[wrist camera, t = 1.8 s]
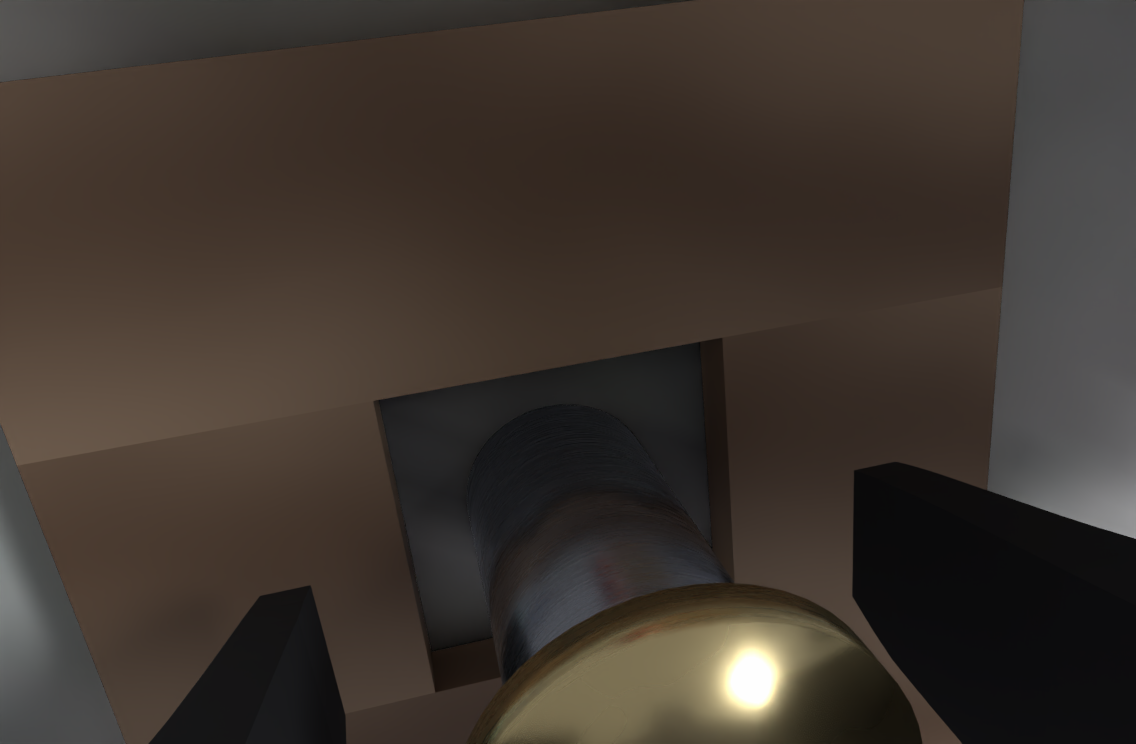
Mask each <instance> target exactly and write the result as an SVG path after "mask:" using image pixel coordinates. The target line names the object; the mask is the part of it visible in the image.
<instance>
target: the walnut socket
mask: <svg viewBox="0 0 1136 744" xmlns="http://www.w3.org/2000/svg"><path fill="white" fill-rule="evenodd" d="M1023 6H1024V0H694V1H686V2H677V3H669V4H660V5H652V6H643V7H635V8H626V9H618V10H609V11H601V12H592V13H584V14H575V15H567V16H558V17H550V18H542V19H533V20H525V21H516V22H508V23H499V24H491V25H482V26H474V27H465V28H457V29H448V30H440V31H431V32H423V33H414V34H406V35H397V36H389V37H380V38H372V39H363V40H355V41H346V42H338V43H329V44H321V45H312V46H304V47H296V48H287V49H279V50H270V51H262V52H253V53H245V54H236V55H228V56H219V57H211V58H202V59H194V60H185V61H177V62H168V63H160V64H151V65H143V66H134V67H126V68H117V69H109V70H100V71H92V72H83V73H75V74H67V75H58V76H50V77H41V78H33V79H24V80H16V81H7V82H0V424H1V426H2V429H3V431H4V434H5V437H6V439H7V442H8V444H9V447H10V449H11V452H12V454H13V457H14V460H15V462H16V465H17V467H18V470H19V472H20V475H21V477H22V480H23V482H24V485H25V488H26V490H27V493H28V495H29V498H30V500H31V503H32V505H33V508H34V511H35V513H36V516H37V518H38V521H39V523H40V526H41V528H42V531H43V534H44V536H45V539H46V541H47V544H48V546H49V549H50V551H51V554H52V556H53V559H54V562H55V564H56V567H57V569H58V572H59V574H60V577H61V579H62V582H63V585H64V587H65V590H66V592H67V595H68V597H69V600H70V602H71V605H72V607H73V610H74V613H75V615H76V618H77V620H78V623H79V625H80V628H81V630H82V633H83V636H84V638H85V641H86V643H87V646H88V648H89V651H90V653H91V656H92V659H93V661H94V664H95V666H96V669H97V671H98V674H99V676H100V679H101V681H102V684H103V687H104V689H105V692H106V694H107V697H108V699H109V702H110V704H111V707H112V710H113V712H114V715H115V717H116V720H117V722H118V725H119V727H120V730H121V733H122V735H123V738H124V740H125V743H126V744H149V742H150V741H151V740H152V739H153V737H154V736H155V735H156V734H157V733H158V731H159V730H160V729H161V728H162V727H163V725H164V724H165V723H166V722H167V721H168V719H169V718H170V717H171V715H172V714H173V713H174V711H175V710H176V709H177V707H178V706H179V705H180V703H181V702H182V701H183V700H184V698H185V697H186V696H187V694H188V693H189V692H190V690H191V689H192V688H193V686H194V685H195V684H196V682H197V681H198V680H199V678H200V677H201V676H202V674H203V673H204V672H205V670H206V669H207V668H208V666H209V665H210V663H211V662H212V661H213V659H214V658H215V656H216V655H217V654H218V652H219V651H220V650H221V648H222V647H223V645H224V644H225V643H226V641H227V640H228V638H229V637H230V636H231V634H232V633H233V631H234V630H235V629H236V627H237V626H238V624H239V623H240V622H241V620H242V619H243V618H244V616H245V615H246V614H247V612H248V611H249V610H250V608H251V607H252V606H253V604H254V603H255V602H256V600H257V599H258V598H259V596H262V595H266V594H271V593H276V592H281V591H285V590H290V589H295V588H300V587H304V586H309V585H311V588H312V592H313V596H314V599H315V603H316V607H317V611H318V614H319V618H320V622H321V626H322V629H323V633H324V637H325V641H326V644H327V648H328V652H329V656H330V659H331V663H332V667H333V671H334V674H335V678H336V682H337V685H338V689H339V693H340V697H341V700H342V704H343V708H344V712H345V715H346V744H466V743H467V740H468V738H469V736H470V734H471V732H472V731H473V729H474V727H475V725H476V723H477V721H478V720H479V718H480V716H481V714H482V713H483V711H484V710H485V708H486V707H487V706H488V704H489V703H490V702H491V700H492V699H493V697H494V696H495V695H496V693H497V692H498V691H499V689H500V688H501V687H502V681H501V676H500V671H499V666H498V661H497V656H496V651H495V646H494V641H493V638H490V639H486V640H482V641H477V642H473V643H468V644H464V645H460V646H455V647H451V648H446V649H442V650H438V651H433V652H432V651H431V646H430V641H429V637H428V632H427V627H426V623H425V618H424V613H423V608H422V604H421V599H420V594H419V589H418V585H417V580H416V575H415V571H414V566H413V561H412V556H411V552H410V547H409V542H408V537H407V533H406V528H405V523H404V519H403V514H402V509H401V504H400V500H399V495H398V490H397V485H396V481H395V476H394V471H393V466H392V462H391V457H390V452H389V448H388V443H387V438H386V433H385V429H384V424H383V419H382V414H381V410H380V405H379V400H381V399H387V398H392V397H398V396H404V395H409V394H415V393H420V392H426V391H431V390H437V389H442V388H448V387H453V386H459V385H464V384H470V383H475V382H481V381H486V380H492V379H497V378H503V377H508V376H514V375H519V374H525V373H530V372H536V371H541V370H547V369H552V368H558V367H563V366H569V365H574V364H580V363H585V362H591V361H596V360H602V359H607V358H613V357H618V356H624V355H629V354H635V353H640V352H646V351H652V350H657V349H663V348H668V347H674V346H679V345H685V344H690V343H696V342H700V350H701V367H702V384H703V400H704V417H705V434H706V450H707V467H708V483H709V500H710V517H711V533H712V550H713V552H714V553H715V555H716V556H717V558H718V559H719V561H720V562H721V564H722V565H723V566H724V568H725V569H726V571H727V572H728V574H729V575H730V577H731V578H732V580H733V581H734V583H739V584H753V585H760V586H764V587H769V588H774V589H779V590H783V591H786V592H789V593H792V594H795V595H797V596H800V597H803V598H806V599H808V600H810V601H812V602H814V603H816V604H817V605H819V606H821V607H823V608H825V609H827V610H828V611H830V612H831V613H833V614H834V615H835V616H836V617H838V618H839V619H840V620H842V621H843V622H844V623H845V624H847V625H848V626H849V627H850V628H851V629H852V630H853V631H854V633H855V634H856V635H857V636H858V637H859V638H860V639H861V640H862V641H863V642H864V644H865V645H866V646H867V647H868V648H869V650H870V651H871V652H872V653H873V654H874V656H875V657H876V658H877V659H878V660H879V662H880V663H881V664H882V665H883V666H884V668H885V669H886V670H887V671H888V672H889V674H890V675H891V676H892V677H893V678H894V680H895V681H896V682H897V683H898V684H899V686H900V688H901V689H902V691H903V692H904V694H905V696H906V697H907V699H908V700H909V702H910V704H911V706H912V709H913V711H914V714H915V716H916V719H917V721H918V724H919V728H920V733H921V738H922V743H923V744H962V743H961V742H960V740H959V739H958V738H957V737H956V736H955V735H954V733H953V732H952V731H951V730H950V729H949V727H948V726H947V725H946V724H945V723H944V722H943V720H942V719H941V718H940V717H939V716H938V714H937V713H936V712H935V711H934V710H933V709H932V707H931V706H930V705H929V704H928V703H927V701H926V700H925V699H924V698H923V697H922V695H921V694H920V693H919V692H918V691H917V689H916V688H915V687H914V686H913V684H912V683H911V682H910V681H909V680H908V678H907V677H906V676H905V675H904V674H903V672H902V671H901V670H900V669H899V667H898V666H897V665H896V664H895V662H894V661H893V660H892V659H891V657H890V656H889V654H888V653H887V651H886V650H885V648H884V647H883V645H882V644H881V642H880V641H879V639H878V637H877V636H876V634H875V633H874V631H873V630H872V628H871V626H870V625H869V623H868V622H867V620H866V618H865V617H864V615H863V613H862V612H861V610H860V608H859V607H858V605H857V603H856V602H855V600H854V598H853V597H852V575H853V501H854V470H858V469H862V468H867V467H872V466H877V465H881V464H886V463H891V462H900V463H904V464H908V465H912V466H915V467H919V468H922V469H925V470H929V471H932V472H935V473H938V474H941V475H944V476H947V477H950V478H953V479H956V480H959V481H962V482H965V483H967V484H970V485H973V486H976V487H979V488H982V489H985V490H987V485H988V471H989V458H990V445H991V432H992V418H993V405H994V392H995V378H996V365H997V352H998V339H999V325H1000V312H1001V299H1002V285H1003V272H1004V259H1005V246H1006V232H1007V219H1008V206H1009V192H1010V179H1011V166H1012V153H1013V139H1014V126H1015V113H1016V99H1017V86H1018V73H1019V60H1020V46H1021V33H1022V20H1023Z"/></svg>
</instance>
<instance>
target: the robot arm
mask: <svg viewBox="0 0 1136 744" xmlns="http://www.w3.org/2000/svg"><path fill="white" fill-rule="evenodd" d="M852 597H853V598H854V600H855V602H856V603H857V605H858V607H859V608H860V610H861V612H862V613H863V615H864V617H865V618H866V620H867V622H868V623H869V625H870V626H871V628H872V630H873V631H874V633H875V634H876V636H877V637H878V639H879V641H880V642H881V644H882V645H883V647H884V648H885V650H886V651H887V653H888V654H889V656H890V657H891V659H892V660H893V661H894V662H895V664H896V665H897V666H898V667H899V669H900V670H901V671H902V672H903V674H904V675H905V676H906V677H907V678H908V680H909V681H910V682H911V683H912V684H913V686H914V687H915V688H916V689H917V691H918V692H919V693H920V694H921V695H922V697H923V698H924V699H925V700H926V701H927V703H928V704H929V705H930V706H931V707H932V709H933V710H934V711H935V712H936V713H937V714H938V716H939V717H940V718H941V719H942V720H943V722H944V723H945V724H946V725H947V726H948V727H949V729H950V730H951V731H952V732H953V733H954V735H955V736H956V737H957V738H958V739H959V740H960V742H961V743H962V744H1136V539H1134V538H1131V537H1127V536H1124V535H1121V534H1117V533H1114V532H1111V531H1107V530H1104V529H1100V528H1097V527H1094V526H1091V525H1088V524H1085V523H1082V522H1078V521H1075V520H1072V519H1069V518H1066V517H1063V516H1060V515H1057V514H1054V513H1051V512H1048V511H1045V510H1042V509H1039V508H1036V507H1033V506H1031V505H1028V504H1025V503H1022V502H1019V501H1016V500H1013V499H1010V498H1007V497H1005V496H1002V495H999V494H996V493H993V492H990V491H987V490H985V489H982V488H979V487H976V486H973V485H970V484H967V483H965V482H962V481H959V480H956V479H953V478H950V477H947V476H944V475H941V474H938V473H935V472H932V471H929V470H925V469H922V468H919V467H915V466H912V465H908V464H904V463H900V462H891V463H886V464H881V465H877V466H872V467H867V468H862V469H858V470H854V501H853V575H852ZM149 744H346V715H345V712H344V708H343V704H342V700H341V697H340V693H339V689H338V685H337V682H336V678H335V674H334V671H333V667H332V663H331V659H330V656H329V652H328V648H327V644H326V641H325V637H324V633H323V629H322V626H321V622H320V618H319V614H318V611H317V607H316V603H315V599H314V596H313V592H312V588H311V585H309V586H304V587H300V588H295V589H290V590H285V591H281V592H276V593H271V594H266V595H262V596H259V598H258V599H257V600H256V602H255V603H254V604H253V606H252V607H251V608H250V610H249V611H248V612H247V614H246V615H245V616H244V618H243V619H242V620H241V622H240V623H239V624H238V626H237V627H236V629H235V630H234V631H233V633H232V634H231V636H230V637H229V638H228V640H227V641H226V643H225V644H224V645H223V647H222V648H221V650H220V651H219V652H218V654H217V655H216V656H215V658H214V659H213V661H212V662H211V663H210V665H209V666H208V668H207V669H206V670H205V672H204V673H203V674H202V676H201V677H200V678H199V680H198V681H197V682H196V684H195V685H194V686H193V688H192V689H191V690H190V692H189V693H188V694H187V696H186V697H185V698H184V700H183V701H182V702H181V703H180V705H179V706H178V707H177V709H176V710H175V711H174V713H173V714H172V715H171V717H170V718H169V719H168V721H167V722H166V723H165V724H164V725H163V727H162V728H161V729H160V730H159V731H158V733H157V734H156V735H155V736H154V737H153V739H152V740H151V741H150V742H149Z"/></svg>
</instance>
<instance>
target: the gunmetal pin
mask: <svg viewBox="0 0 1136 744" xmlns="http://www.w3.org/2000/svg"><path fill="white" fill-rule="evenodd" d="M466 499H467V509H468V514H469V519H470V524H471V529H472V534H473V539H474V545H475V550H476V555H477V560H478V565H479V570H480V575H481V580H482V585H483V590H484V595H485V600H486V605H487V610H488V615H489V620H490V625H491V630H492V635H493V641H494V646H495V651H496V656H497V661H498V666H499V671H500V676H501V681H502V687H501V688H500V689H499V691H498V692H497V693H496V695H495V696H494V697H493V699H492V700H491V702H490V703H489V704H488V706H487V707H486V708H485V710H484V711H483V713H482V714H481V716H480V718H479V720H478V721H477V723H476V725H475V727H474V729H473V731H472V732H471V734H470V736H469V738H468V740H467V743H466V744H923V743H922V738H921V733H920V728H919V724H918V721H917V719H916V716H915V714H914V711H913V709H912V706H911V704H910V702H909V700H908V699H907V697H906V696H905V694H904V692H903V691H902V689H901V688H900V686H899V684H898V683H897V682H896V681H895V680H894V678H893V677H892V676H891V675H890V674H889V672H888V671H887V670H886V669H885V668H884V666H883V665H882V664H881V663H880V662H879V660H878V659H877V658H876V657H875V656H874V654H873V653H872V652H871V651H870V650H869V648H868V647H867V646H866V645H865V644H864V642H863V641H862V640H861V639H860V638H859V637H858V636H857V635H856V634H855V633H854V631H853V630H852V629H851V628H850V627H849V626H848V625H847V624H845V623H844V622H843V621H842V620H840V619H839V618H838V617H836V616H835V615H834V614H833V613H831V612H830V611H828V610H827V609H825V608H823V607H821V606H819V605H817V604H816V603H814V602H812V601H810V600H808V599H806V598H803V597H800V596H797V595H795V594H792V593H789V592H786V591H783V590H779V589H774V588H769V587H764V586H760V585H753V584H739V583H734V581H733V580H732V578H731V577H730V575H729V574H728V572H727V571H726V569H725V568H724V566H723V565H722V564H721V562H720V561H719V559H718V558H717V556H716V555H715V553H714V552H713V550H712V549H711V547H710V546H709V544H708V543H707V541H706V540H705V539H704V537H703V536H702V534H701V533H700V531H699V530H698V528H697V527H696V525H695V524H694V522H693V521H692V519H691V518H690V516H689V515H688V514H687V512H686V511H685V509H684V508H683V506H682V505H681V503H680V502H679V500H678V499H677V497H676V496H675V494H674V493H673V491H672V490H671V489H670V487H669V486H668V484H667V483H666V481H665V480H664V478H663V477H662V475H661V474H660V472H659V471H658V469H657V468H656V466H655V465H654V464H653V462H652V461H651V459H650V458H649V456H648V455H647V453H646V452H645V450H644V449H643V447H642V446H641V444H640V443H639V442H638V440H637V439H636V437H635V436H634V434H633V433H632V432H631V431H630V430H629V429H628V428H627V427H626V426H625V425H624V424H623V423H621V422H620V421H619V420H618V419H616V418H614V417H613V416H611V415H609V414H607V413H605V412H603V411H600V410H598V409H595V408H591V407H587V406H581V405H554V406H547V407H543V408H539V409H535V410H533V411H530V412H528V413H525V414H523V415H521V416H519V417H517V418H515V419H513V420H512V421H510V422H509V423H508V424H506V425H505V426H503V427H502V428H501V429H500V430H499V431H497V432H496V433H495V434H494V435H493V436H492V437H491V438H490V439H489V441H488V442H487V443H486V444H485V445H484V447H483V448H482V450H481V451H480V453H479V454H478V456H477V458H476V460H475V462H474V464H473V466H472V469H471V472H470V475H469V480H468V485H467V498H466Z"/></svg>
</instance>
